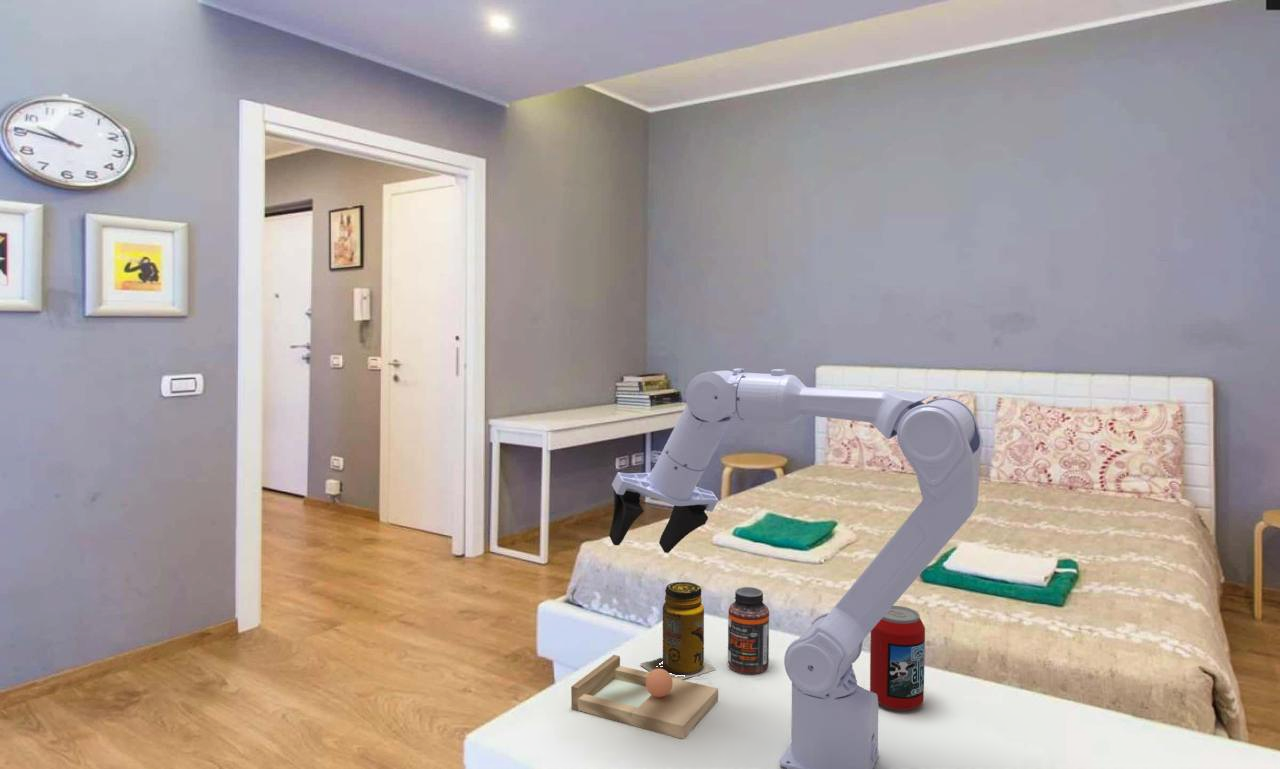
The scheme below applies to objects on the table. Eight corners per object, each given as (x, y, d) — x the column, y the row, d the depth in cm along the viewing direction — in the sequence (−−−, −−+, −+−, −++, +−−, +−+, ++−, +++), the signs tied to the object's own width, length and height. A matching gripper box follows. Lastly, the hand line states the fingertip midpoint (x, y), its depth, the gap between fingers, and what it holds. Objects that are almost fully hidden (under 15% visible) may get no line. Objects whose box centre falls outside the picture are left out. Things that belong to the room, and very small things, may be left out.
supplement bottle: (724, 672, 110) (724, 595, 109) (731, 656, 115) (731, 582, 115) (766, 678, 108) (766, 599, 107) (771, 660, 114) (771, 586, 113)
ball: (677, 693, 100) (677, 667, 100) (665, 704, 97) (665, 678, 97) (653, 687, 102) (653, 662, 102) (641, 698, 99) (640, 672, 98)
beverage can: (905, 719, 96) (907, 626, 95) (859, 700, 101) (860, 611, 101) (933, 703, 100) (935, 613, 100) (888, 685, 106) (889, 600, 105)
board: (718, 700, 102) (718, 678, 101) (683, 739, 92) (683, 714, 92) (614, 675, 109) (613, 654, 109) (571, 708, 99) (571, 686, 99)
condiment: (716, 670, 111) (716, 589, 110) (668, 685, 106) (668, 600, 105) (686, 652, 117) (686, 575, 116) (639, 666, 112) (639, 586, 111)
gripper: (717, 451, 101) (673, 532, 105) (624, 429, 94) (581, 517, 98) (741, 481, 95) (694, 566, 100) (644, 460, 88) (597, 552, 93)
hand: (639, 544), depth 99 cm, fingers open, 7 cm apart
